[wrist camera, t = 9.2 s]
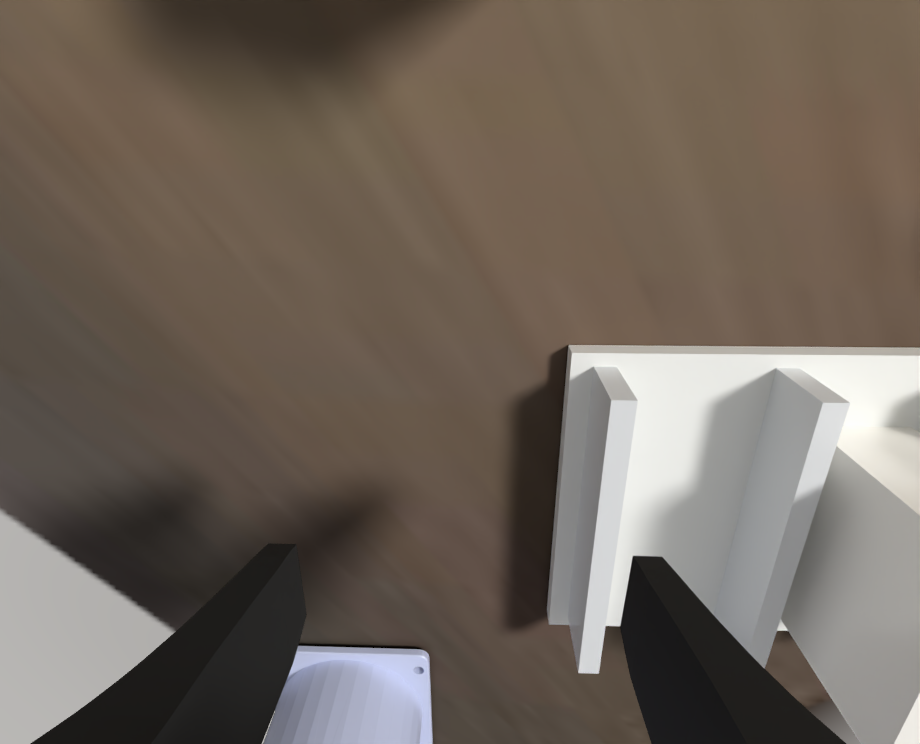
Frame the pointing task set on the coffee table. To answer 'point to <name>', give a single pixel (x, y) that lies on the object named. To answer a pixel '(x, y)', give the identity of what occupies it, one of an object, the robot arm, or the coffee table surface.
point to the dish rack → (705, 472)
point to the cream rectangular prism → (865, 584)
